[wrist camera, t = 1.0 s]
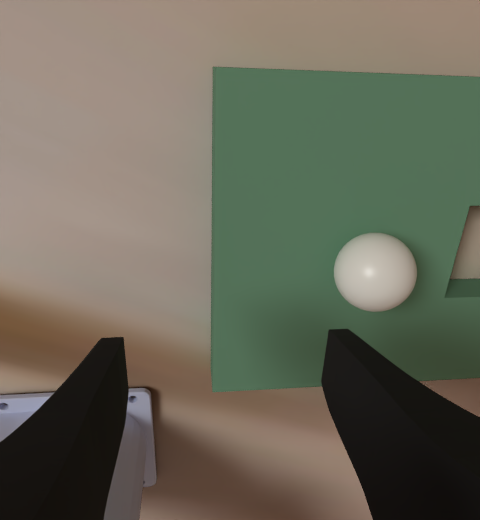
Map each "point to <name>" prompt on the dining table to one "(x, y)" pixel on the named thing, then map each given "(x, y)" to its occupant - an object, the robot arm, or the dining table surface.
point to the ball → (375, 272)
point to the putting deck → (338, 219)
